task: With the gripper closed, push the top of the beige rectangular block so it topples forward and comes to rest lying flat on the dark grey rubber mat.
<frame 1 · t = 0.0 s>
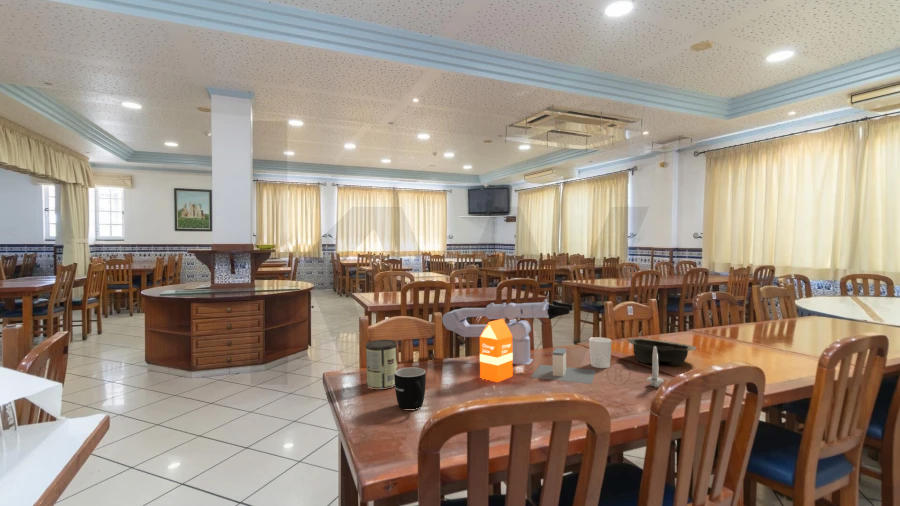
hand: (570, 308, 161), 22 cm above the table, tool horizontal, fingers open, 7 cm apart
mug: (412, 409, 124), on the table
mat: (563, 374, 153), on the table
coffee can: (382, 385, 144), on the table
beige rectangular block: (559, 373, 153), resting on mat
screw: (655, 386, 139), on the table
stone bowl: (660, 361, 168), on the table
white cup: (600, 366, 162), on the table
orange juice: (496, 378, 150), on the table
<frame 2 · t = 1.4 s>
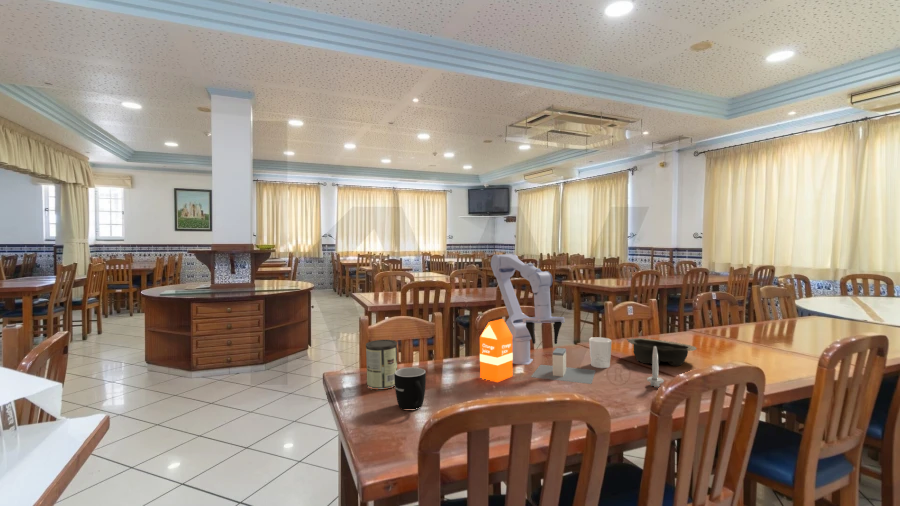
hand: (544, 343, 155), 10 cm above the table, tool pointing down, fingers open, 7 cm apart
nothing on the table moved.
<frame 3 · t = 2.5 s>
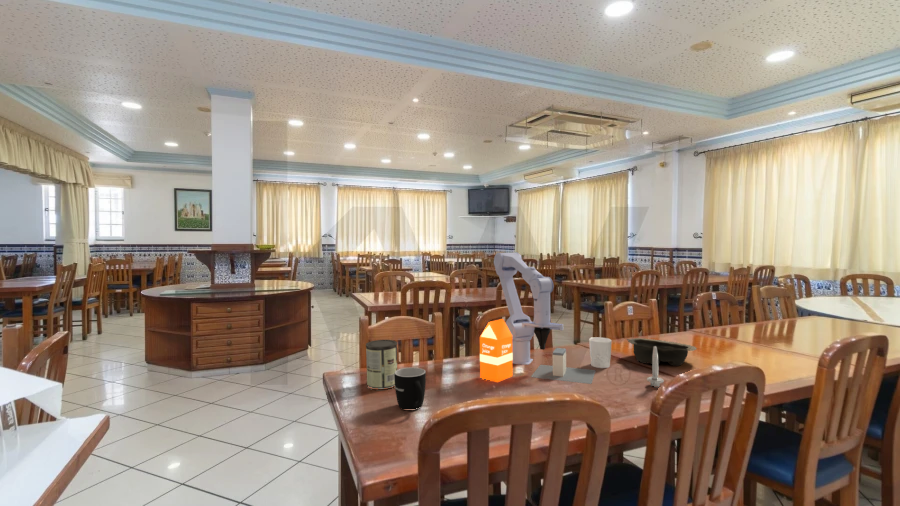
hand: (542, 348, 155), 8 cm above the table, tool pointing down, fingers closed
nothing on the table moved.
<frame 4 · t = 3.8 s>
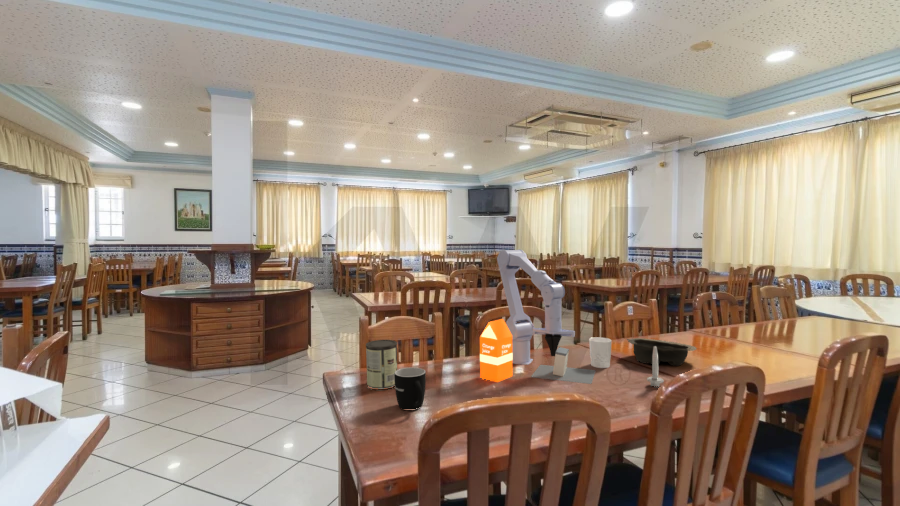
hand: (553, 355, 154), 6 cm above the table, tool pointing down, fingers closed
beige rectangular block: (559, 372, 153), point 1 cm above the table, tilted 7°, touching mat
everything else where it was.
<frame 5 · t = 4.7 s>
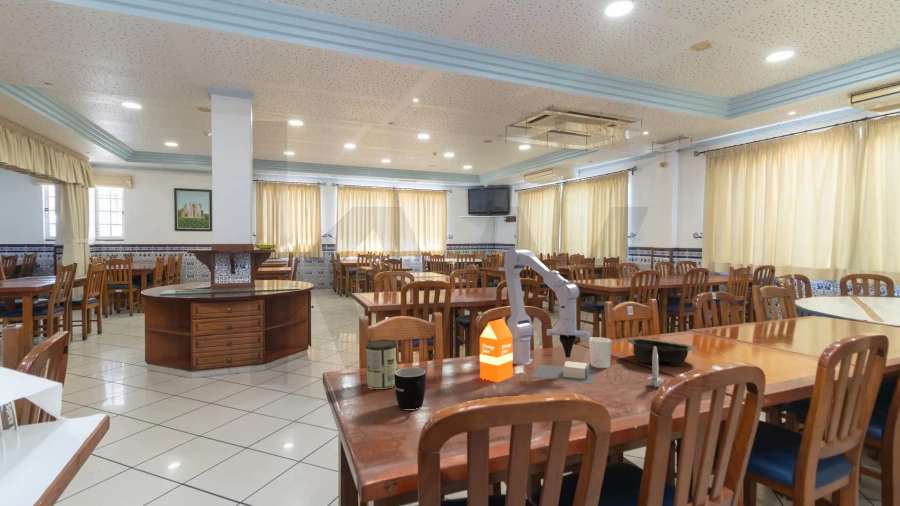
hand: (568, 356, 152), 6 cm above the table, tool pointing down, fingers closed
beige rectangular block: (564, 368, 153), point 2 cm above the table, tilted 90°, touching mat
everything else where it was.
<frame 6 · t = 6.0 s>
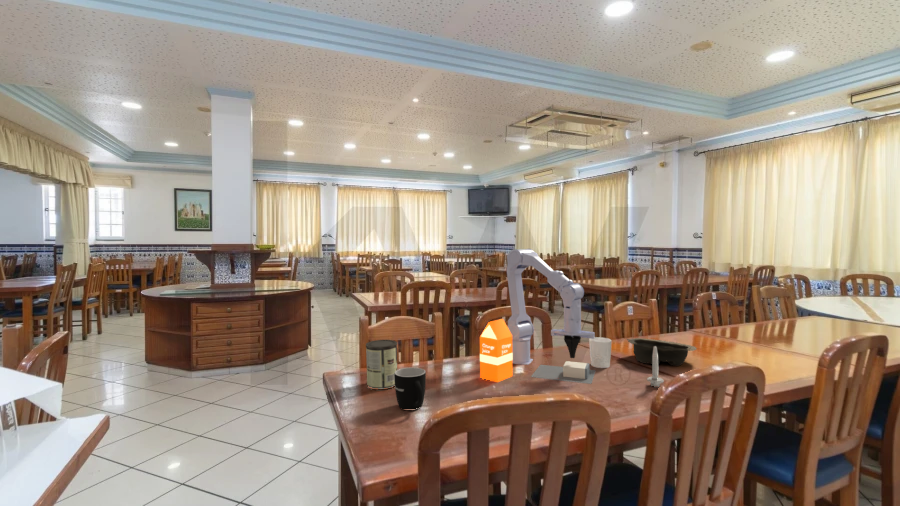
hand: (572, 357, 151), 6 cm above the table, tool pointing down, fingers closed
nothing on the table moved.
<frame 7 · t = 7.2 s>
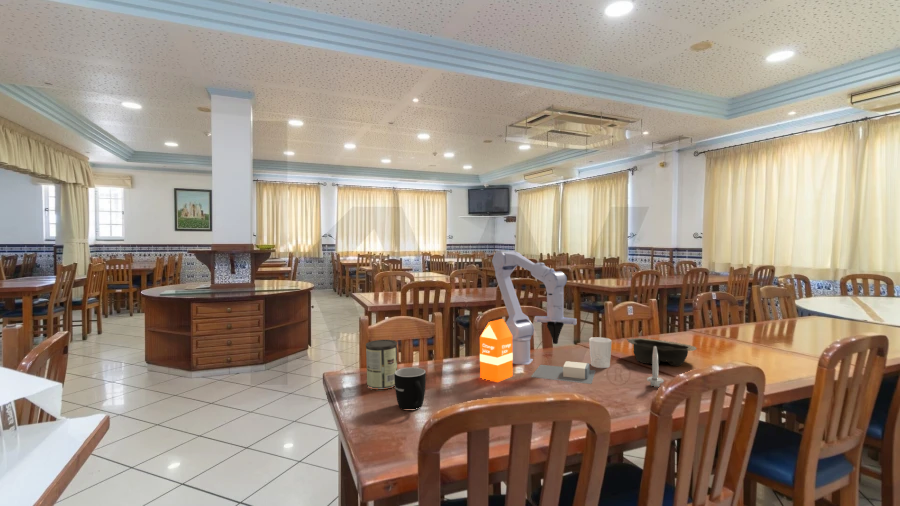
hand: (555, 343, 156), 10 cm above the table, tool pointing down, fingers closed
nothing on the table moved.
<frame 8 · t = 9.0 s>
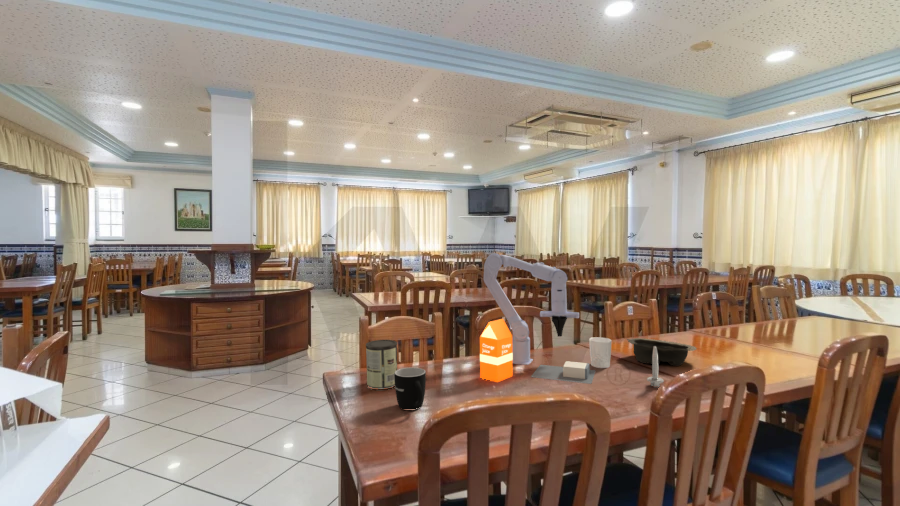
hand: (559, 335, 167), 10 cm above the table, tool pointing down, fingers closed
nothing on the table moved.
at the end: beige rectangular block tilted 90°; beige rectangular block inside the target area (0.7 cm from its centre), point 2.0 cm above the table; the gripper is holding nothing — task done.
